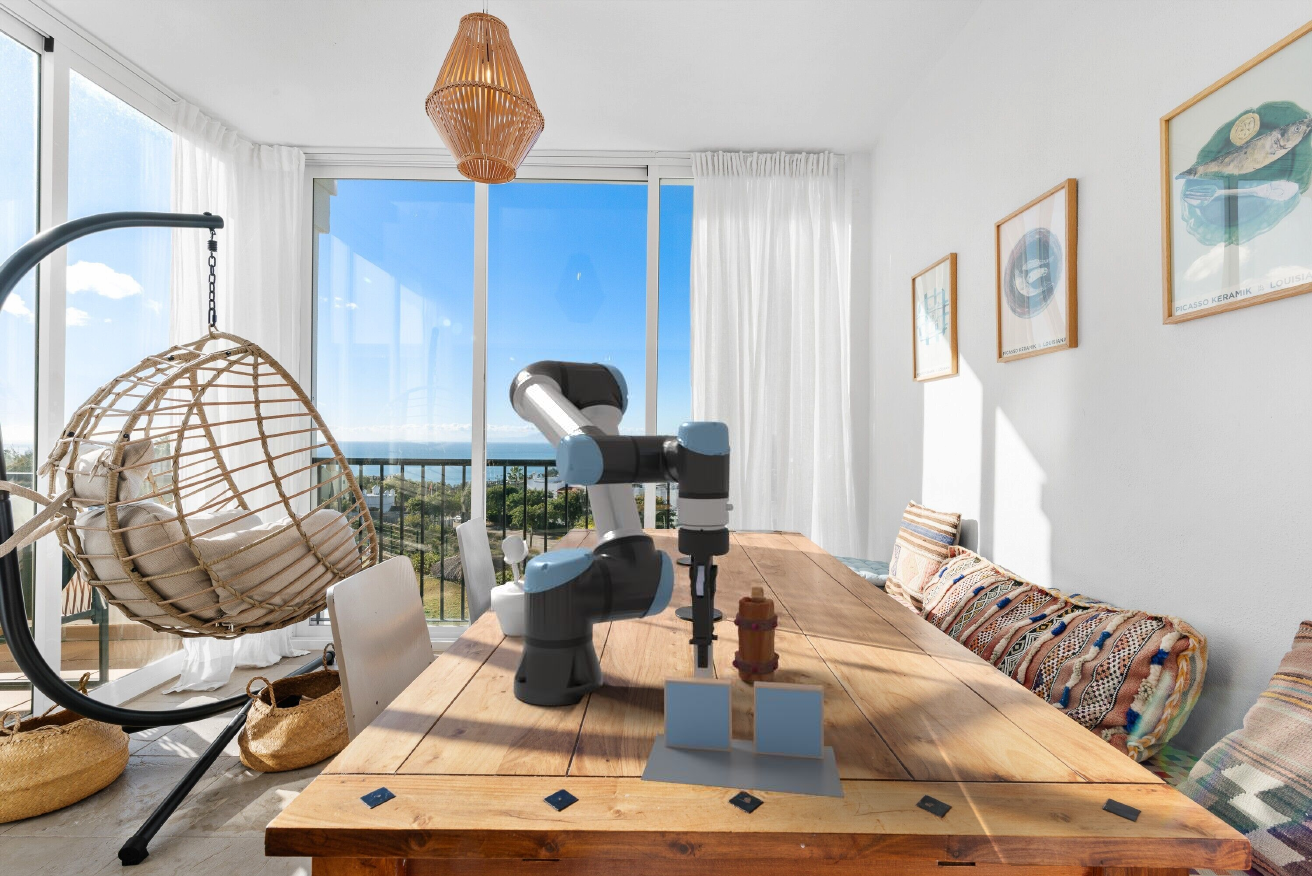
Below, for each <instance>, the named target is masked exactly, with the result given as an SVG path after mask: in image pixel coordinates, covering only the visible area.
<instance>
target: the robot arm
mask: <svg viewBox="0 0 1312 876" xmlns="http://www.w3.org/2000/svg"><path fill="white" fill-rule="evenodd" d="M512 379H513V380H512V381H511V384H510V387H509V390H508V391H509V401H510V402H509V403H510V404H511V407H512V409H513V410H514V412H516V414H517V415H518V416H519V418H520V419H522V420H523V421H525V422H528V423H531V424H533V425H534V426H535V427H536V428H537V430H538V431H539V432H540V433H541V434H542V435H543V437H545V438H546V440H547V441H548V442H549V443H550V444H551V445H552V447H553V448H554V449H555V450H556V452H555V453H556V454H555V465H556V471H557V473H558V478H559V479H560V480H561V481H562V482H563V483H564V484H566V485H568V486H569V485H572V486H574V485H575V486H583V487H586V490H587V495H588V499H589V503H590V508H591V513H592V518H593V519H592V520H593V523H594V527H595V532H596V538H597V543H596V544H595V545H594V547H593V548H592V550H591V549H589V548H584V547H574V548H562V549H557V550H551V551H547V552H544V553H541V554H538V555H536V556H534V557H532V558H531V559H530V560H529V561H528V562H527V563H526V565H525V570H524V580H523V581H524V586H523V590H524V636H523V637H524V638H523V639H524V643H523V644H524V645H523V649H522V652H521V654H520V658H519V660H518V665H517V667H516V670H515V673H514V676H513V694H514V696H515V697H516V698H517V699H518V700H520V701H523V702H526V703H528V704H533V705H541V706H565V705H566V706H567V705H572V704H577V703H581V702H582V700H583V698H584V697H585V696H586V695H589V694H590V693H593V692H595V691H597V690H598V689H600V688H601V687H602V686H604V683H603V682H604V675H603V671H602V667H601V665H600V662H599V658H598V655H597V652H596V648H595V645H594V640H593V639H594V638H593V637H594V636H593V635H594V633H593V630H594V625H595V624H602V623H611V622H619V621H626V620H633V619H634V620H635V619H641V620H642V619H644V618H646V617H651V616H656V615H659V614H661V613H663V612H664V611H665V610H666V609H667V607H668V606H669V604H670V602H671V600H672V596H673V592H674V587H675V571H674V569H675V568H674V565H673V561H672V559H671V557H670V555H669V554H668V553H667V552H666V551H664V550H661V549H656V545H655V542H654V538H653V537H652V536H651V535H650V534H648V533H647V532H644V530H643V525H642V522H641V519H640V515H639V510H638V506H637V502H636V499H635V498H636V497H635V493H634V489H633V485H632V484H662V483H663V484H666V483H667V484H678V485H677V488H678V490H677V491H678V496H677V523H678V524H679V525H680V526H681V527H679V528H678V531H677V545H678V546H677V548H678V550H677V551H678V552H679V553H680V554H682V555H685V556H692V557H693V559H694V560H693V563H691V565H690V566H689V570H688V577H689V580H690V585H689V587H690V597H691V615H692V616H691V617H692V618H691V619H692V621H691V622H692V623H691V624H692V638H689V640H688V644H689V645H691V646H693V678H709V679H714V641H718V639H719V638H718V637H719V635H718V634H714V632H715V626H714V623H715V619H714V618H715V616H714V615H715V614H714V613H715V595H716V591H717V576H718V573H719V566H718V565H719V564H714V557H721V556H725V555H727V554H728V553H729V552H730V530H729V529H728V527H726V526H727V525H728V524H729V523H730V512H729V511H731V512H732V511H733V510H734V505H733V504H732V503H729V501H730V498H729V497H730V472H731V470H730V464H731V461H730V460H731V456H730V455H731V446H730V432H729V426H728V424H726V423H724V422H723V421H683V422H682V423H680V425H679V426H678V430H677V435H668V434H665V435H658V434H657V435H630V434H629V435H628V434H627V435H625V434H624V435H623V434H620V431H619V425H620V424H621V423H622V421H623V416H624V415H625V413H626V412H627V409H628V404H629V399H628V395H629V388H628V385H627V381H626V378H625V377H624V375H623V373H622V372H621V370H620V369H619V368H617V367H616V366H615V365H614V366H613V364H612V365H611V364H606V363H605V364H604V363H601V362H591V363H590V362H589V363H588V362H579V361H578V362H577V361H576V362H575V361H564V360H548V359H547V360H546V359H545V360H539V361H536V362H533V363H530V364H528V365H526V366H525V367H523V368H522V369H520V370H519V372H517V373H516V375H515V377H513V378H512Z"/></svg>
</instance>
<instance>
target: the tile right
mask: <svg viewBox="0 0 1312 876" xmlns="http://www.w3.org/2000/svg"><path fill="white" fill-rule="evenodd" d="M824 690H825V689H824V686H823V685H822V684H805V683H804V684H803V683H791V682H790V683H789V682H775V681H774V682H771V681H767V682H759V681H754V683H753V741H754V753H756V754H769V755H781V756H794V757H807V758H820V759H824V746H825V745H824V744H825V743H824V739H825V738H824V736H825V735H824V732H825V728H824V727H825V725H824V720H825V719H824V716H825V713H824V712H825V711H824V710H825V709H824V707H825V706H824V705H825V703H824V702H825V701H824V699H825V698H824V697H825V696H824V695H825V694H824V692H825V691H824Z"/></svg>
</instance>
